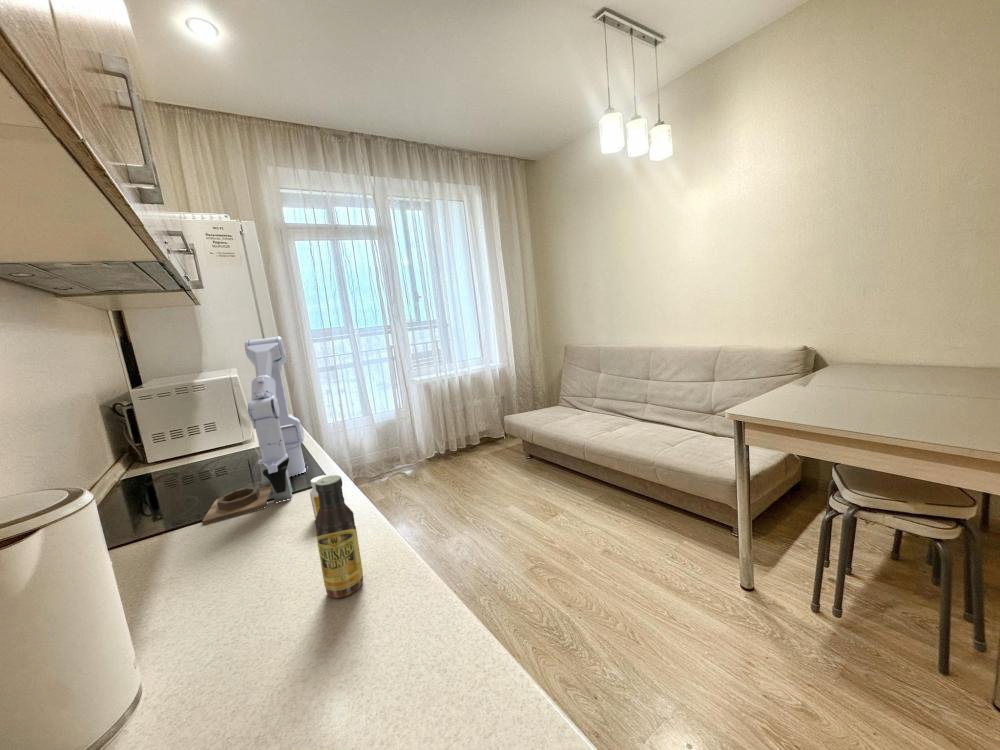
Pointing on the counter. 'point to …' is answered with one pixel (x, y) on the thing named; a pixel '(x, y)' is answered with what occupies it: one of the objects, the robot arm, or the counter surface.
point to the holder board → (238, 503)
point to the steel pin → (283, 495)
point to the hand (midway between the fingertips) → (282, 488)
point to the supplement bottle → (315, 495)
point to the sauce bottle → (337, 540)
